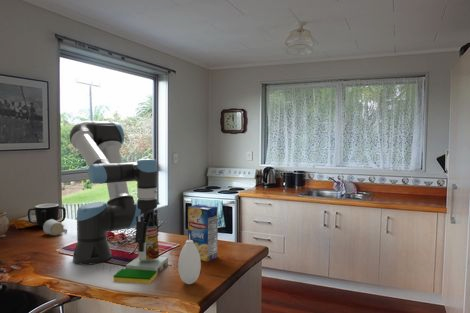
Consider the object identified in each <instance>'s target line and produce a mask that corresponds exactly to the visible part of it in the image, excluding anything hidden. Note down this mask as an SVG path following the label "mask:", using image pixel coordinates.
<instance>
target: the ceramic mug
mask: <svg viewBox="0 0 470 313" xmlns="http://www.w3.org/2000/svg"><path fill="white" fill-rule="evenodd" d="M42 230H43V231H44V233H45V234H47V235H50V236H55V237H56V236H60V235H61V234H62V233H67V232H68V229H66V228H64V225H63V224H62V222H58V221H56V220H53V219H50V220H47V221H46V222H45V223H44V225H43V227H42Z"/></svg>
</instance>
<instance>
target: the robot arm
mask: <svg viewBox="0 0 470 313" xmlns="http://www.w3.org/2000/svg"><path fill="white" fill-rule="evenodd" d="M124 136H125V132H124V128H123V127H122V125H121V124H120V123H119V122H116V121H112V120H111V121H110V120H108V121H104V120H103V121H101V120H83V121H80V122H78V123H76V124H75V125H74V126H72V129H71V130H70V133H69V141H70V143H71V145H72V146H73V148H75V149H77V150H78V151H79V153H80V155H81V156H82V158H83V160H84V161H85V163H86V165H87V166H88V169H87V177H88V181H89V182H90V183H91V184H98V185H99V184H100V185H102V184H106V185H107V192H108V198H109V199H108V200H107V202H105V201H95V202H90V203H89V202H88V203H86V204H82V205H81V206H79V207H78V209H77V211H76V219H75V220H76V235H77V236H76V238H77V239H76V241H77V242H76V244H75V248H74V251H73V254H72V262H73V263H75V264H78V265H96V264H100V263H103V262H106V261H107V260H108V261H109V260H110V259H111V258H112V250H111V247H110V244H109V242H108V239H107V238H108V237H107V236H108V235H107V234H108V232H115V231H122V230H129V229H132V228H135V239H134V242H135V243H136V244H138V243H139V256H138V257H139V259H141V260H146V242H145V238H146V230H147V227H148V226H154V225H155V226H157V234H159V221H158V219H159V218H158V210H157V208H158V199H157V197H158V167H157V166H158V165H157V164H158V162H157V160H156V159H155V158H139V159H138V160H137V161H129V162H123V160H122V156H121V152H120V149H121V148H122V145H123V143H124V141H125V137H124ZM127 182H137V183H136V184H137V187H136V188H137V190H136V192H137V193H136V196H137V200H134V196H133V195H131V194H130V193H129V188H128V183H127ZM110 257H111V258H110ZM109 258H110V259H109Z"/></svg>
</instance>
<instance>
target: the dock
mask: <svg viewBox="0 0 470 313" xmlns="http://www.w3.org/2000/svg"><path fill="white" fill-rule="evenodd" d="M168 265H169V257H168V256H160V255H159V257H158V258H157V259H155V260H151V261H140V260H139V256H137V257H136V258H134V259H133V260H132V261H130V262H128V263H127V264H126V265H125V269H132V270H149V271H157V272H156V273H157V275H159V272H161V271H162V270H163V269H164V268H165V267H167V266H168Z"/></svg>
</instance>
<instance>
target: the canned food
mask: <svg viewBox="0 0 470 313" xmlns="http://www.w3.org/2000/svg"><path fill="white" fill-rule="evenodd" d="M145 242H146V260H141V259H139V260H140V261H151V260H155V259H157V258H158V257H159V256H160V250H159V248H160V247H159V233H157V226H155V225H154V226H148V227H147V230H146V238H145ZM137 253H138V254H137V255H138V256H137V257H139V243H137Z"/></svg>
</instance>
